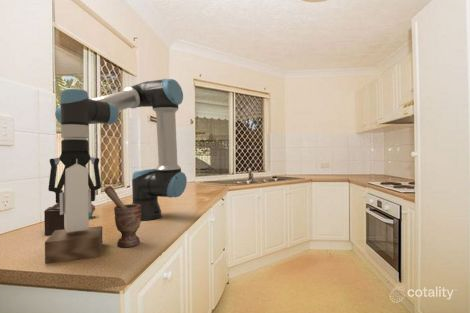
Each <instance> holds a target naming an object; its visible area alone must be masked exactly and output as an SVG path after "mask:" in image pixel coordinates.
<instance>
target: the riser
mask: <svg viewBox="0 0 470 313" xmlns="http://www.w3.org/2000/svg"><path fill="white" fill-rule="evenodd" d="M102 247H103V225H102V226H101V225H99V226H89V229H86V230H79V231H72V232H66V230H65V229H64V230H55V231H54V232H53V233H52V235H49V237H48V238H47V239H46V240H45V241H44V264H51V263H59V262H67V261H76V260H84V259H93V258H100V256H101V252H102Z"/></svg>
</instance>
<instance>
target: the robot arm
mask: <svg viewBox="0 0 470 313" xmlns="http://www.w3.org/2000/svg"><path fill="white" fill-rule="evenodd" d="M183 100H184V93H183V88H182V87H181V85H180V84H179V82H178V81H177V80H176V79H173V78H163V79H157V80H150V81H149V80H147V81H143V82H141V83H140V82H139V83H137V84H134V85H131V86H127V87H126V88H124V89H123V90H121V91H118V92H114V93H109V94H104V95H101V96H98V97H94V98H93V97H92V98H89V92H87V91H86V90H84V89H81V88H72V87H71V88H64V89H62V90H61V92H60V100H59V101H60V102H59V104H60V105H58V107H57V108H56V110H55V112H54V114H55V115H54V116H55V118H56V120H57V122H58V123H59V124H60V137H61V139H62V140H61V141H60V145H61V148H60V149H61V151H60V152H61V154H60V156H59V157H55V158H50V159H49V164H50V166H51V167H50V172H49V182H48V189H47V190H48V191H49V192H53V193H55V203H56V204H58V203H60V215H63V214H64V191H63V192H61V190H63V189H64V182H65V169H67V168H69V167H70V166H72V165H74V164H76V159H77V163H78V164H79V165H81V166H83V167H85V168H87V164H88V163H89V162H91V164H92V165H93V173H94V179H95V180H94V181H95V184H94V182H93V180H92V177H91V175H90V174H89V172H88V189H89V191H88V213H90V212H91V211H92V204H93V203H92V202H95V200H96V191H97V190H100V189H101V188H102V182H101V175H100V167H99V164H100V158H99V157H91V155H90V152H89V151H90V149H89V148H90V146H89V145H90V144H89V140H88V139H89V135H90V134H89V125H96V124H98V125H99V124H101V125H113V124H115V123H116V122H117V120H119V111H122V110H126V109H129V108H130V109H137V108H145V107H147V108H148V107H151V108H152V110H153V112H154V113H155V114H156V115H155V118H156V136H157V137H156V139H157V155H158V156H157V157H158V160H157V161H158V162H157V163H158V166H156V168H152V169H151V168H150V169H149V168H148V169H143V170H142V169H141V170H136V171H135V170H134V171H133V173H132V179H131V184H132V188H131V190H132V192H131V193H132V203H131V204H139V205H141V221H151V220H156V219H160V218H162V210H161V206H160V204H159V201H158V200H159V198H158V197H162V198H179V197H181V195H182V194H183V193H184V192H185V190H186V187H187V184H188V180H187V175H186V174H185V173H184V172H182V167H181V166H180V165H179V164H178V147H177V146H178V145H177V144H178V143H177V126H176V125H177V122H176V120H177V119H176V113H177V112H178V110H179V106H180V105H181V104H182V103H183ZM60 162H61V163H62V164H63V165H64V168H63V170H62V171H63V172H62V173H61V175H60V179H59V181H58V183H57V186H56V181H57V171H58V166H59V164H60Z"/></svg>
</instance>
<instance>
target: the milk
mask: <svg viewBox="0 0 470 313" xmlns="http://www.w3.org/2000/svg"><path fill="white" fill-rule="evenodd" d="M88 173H89V169H88V168H87V167H86V168H85V167H83V166H81V165H79V164H78V163H77V159H76V164H74V165H72V166H70V167H69V168H67V169H65V182H64V185H63V192H64V228H65V230H66V232H72V231H79V230H86V229H89V227H90V224H89V220H90V218H88V190H89V186H88Z"/></svg>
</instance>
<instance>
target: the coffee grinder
mask: <svg viewBox="0 0 470 313" xmlns="http://www.w3.org/2000/svg"><path fill="white" fill-rule="evenodd" d="M88 191H90V189H88ZM61 192H64V189H62V190H61ZM43 213H44V219H43V220H44V236H51V235H52V233H53V232H54V231H55V230H64V229H65V228H64V214H63V215H60V203H57V204H54V205H52V206H49V207H47V208H46V209H45V210H44V212H43Z"/></svg>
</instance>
